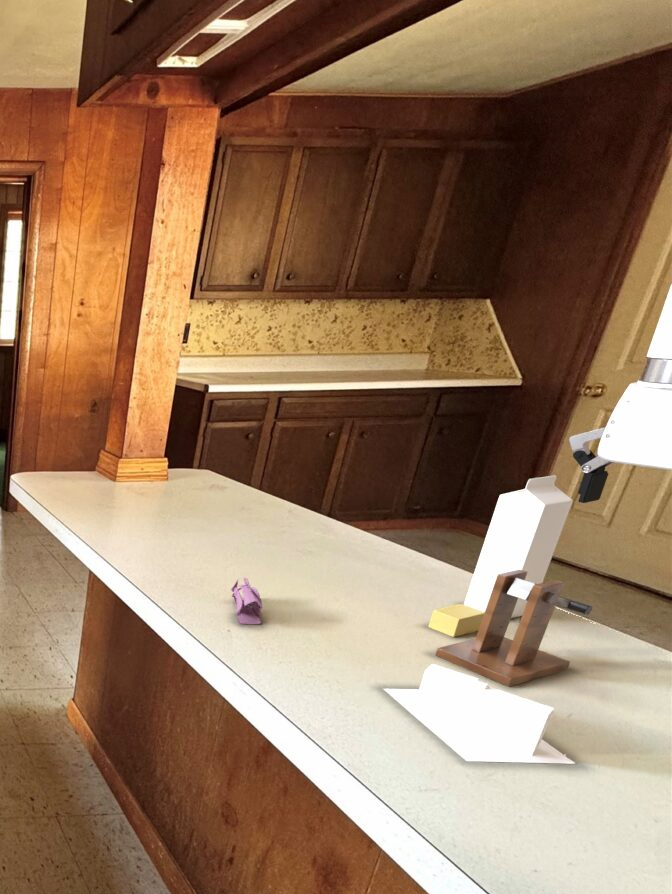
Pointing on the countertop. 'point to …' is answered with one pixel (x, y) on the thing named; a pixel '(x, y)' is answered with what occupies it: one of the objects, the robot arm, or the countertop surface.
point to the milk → (520, 538)
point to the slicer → (504, 655)
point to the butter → (456, 620)
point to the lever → (524, 589)
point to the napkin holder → (480, 718)
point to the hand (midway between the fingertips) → (636, 510)
